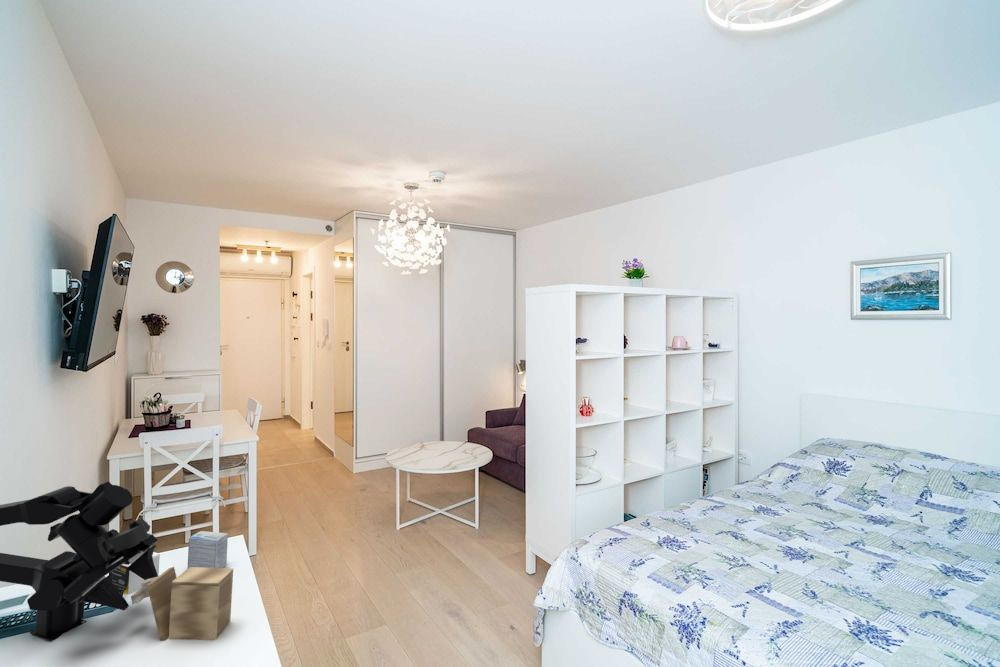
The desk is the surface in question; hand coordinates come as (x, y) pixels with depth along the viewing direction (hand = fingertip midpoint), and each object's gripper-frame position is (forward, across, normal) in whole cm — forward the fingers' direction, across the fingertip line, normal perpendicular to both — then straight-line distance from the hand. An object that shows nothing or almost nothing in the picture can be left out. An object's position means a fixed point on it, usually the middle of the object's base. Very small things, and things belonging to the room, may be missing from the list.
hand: (142, 595), depth 99 cm
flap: (+8, 0, +2) cm, 9 cm away
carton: (+14, 0, -3) cm, 14 cm away
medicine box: (+5, +26, +6) cm, 28 cm away
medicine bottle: (-4, +17, +15) cm, 23 cm away
